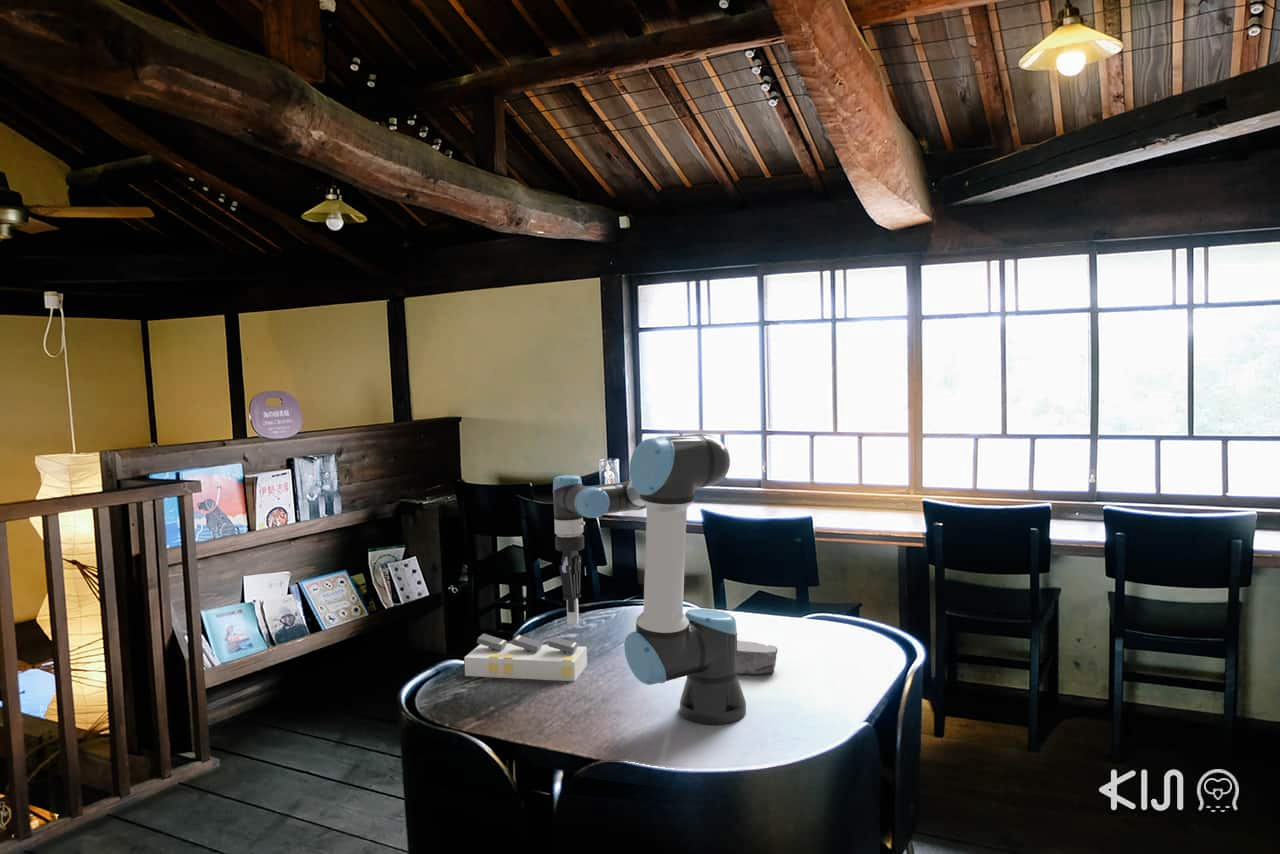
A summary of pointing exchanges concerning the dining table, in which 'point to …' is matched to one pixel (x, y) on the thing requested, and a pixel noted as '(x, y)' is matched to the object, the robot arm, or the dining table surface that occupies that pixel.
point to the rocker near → (563, 644)
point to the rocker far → (492, 642)
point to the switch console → (526, 663)
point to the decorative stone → (755, 658)
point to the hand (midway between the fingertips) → (573, 623)
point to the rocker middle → (527, 643)
